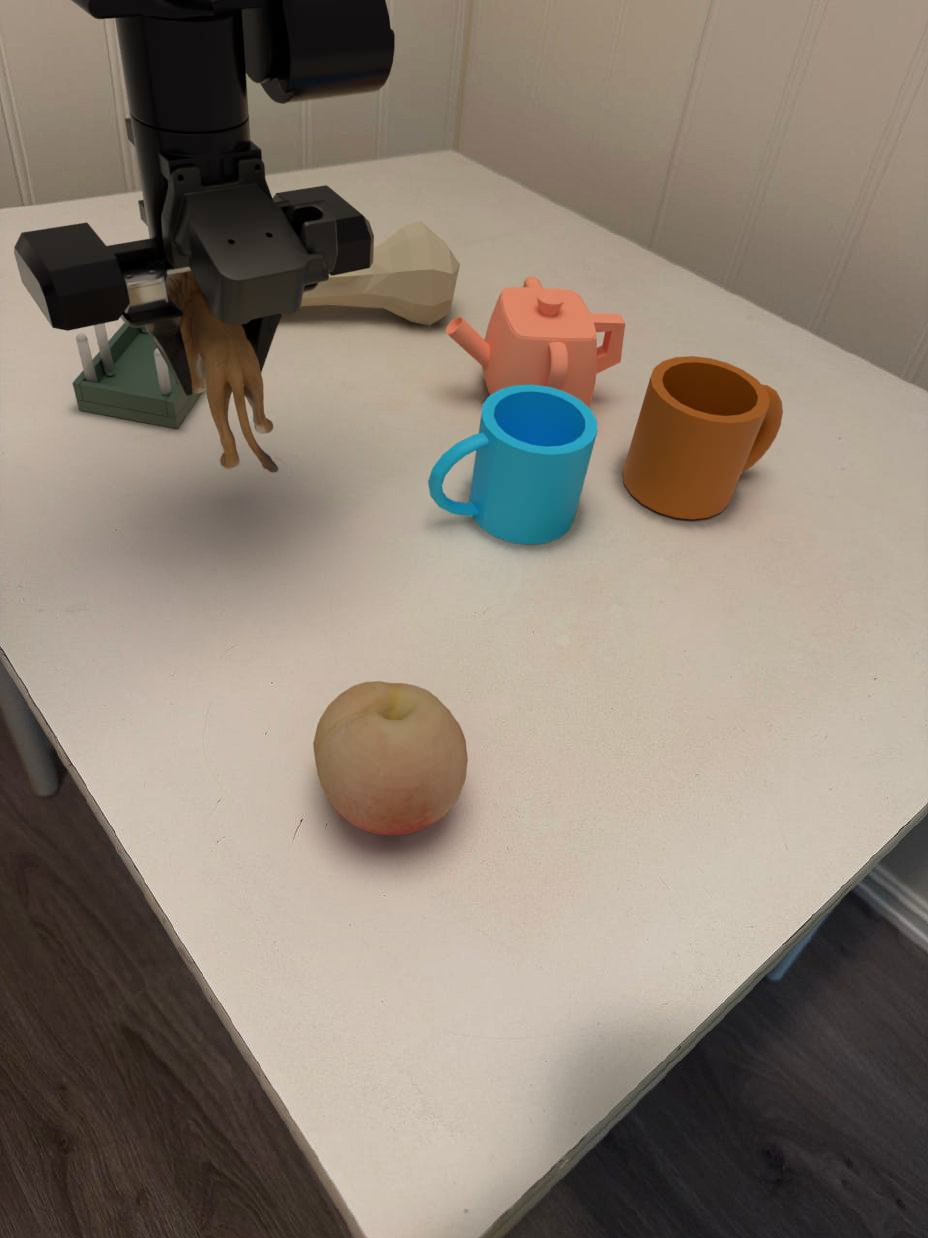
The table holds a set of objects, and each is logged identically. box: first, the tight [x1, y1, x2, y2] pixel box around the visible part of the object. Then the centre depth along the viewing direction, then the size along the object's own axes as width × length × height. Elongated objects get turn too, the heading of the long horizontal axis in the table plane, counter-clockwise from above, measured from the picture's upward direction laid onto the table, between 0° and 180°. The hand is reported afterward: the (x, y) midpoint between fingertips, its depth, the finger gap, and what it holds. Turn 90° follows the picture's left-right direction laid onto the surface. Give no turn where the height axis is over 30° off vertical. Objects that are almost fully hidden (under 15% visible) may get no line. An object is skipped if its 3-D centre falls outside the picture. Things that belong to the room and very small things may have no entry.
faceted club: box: [300, 220, 461, 327], centre depth 80 cm, size 9×8×25 cm
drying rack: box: [72, 322, 205, 429], centre depth 72 cm, size 8×15×6 cm, turn 171°
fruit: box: [312, 680, 469, 836], centre depth 46 cm, size 8×8×8 cm
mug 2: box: [621, 355, 784, 520], centre depth 68 cm, size 9×12×9 cm
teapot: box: [445, 276, 626, 408], centre depth 73 cm, size 12×12×10 cm
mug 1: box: [427, 385, 598, 546], centre depth 63 cm, size 12×8×8 cm
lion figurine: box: [165, 271, 280, 474], centre depth 53 cm, size 15×5×9 cm, turn 34°
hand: (220, 383), depth 55 cm, fingers closed on lion figurine, 4 cm apart
